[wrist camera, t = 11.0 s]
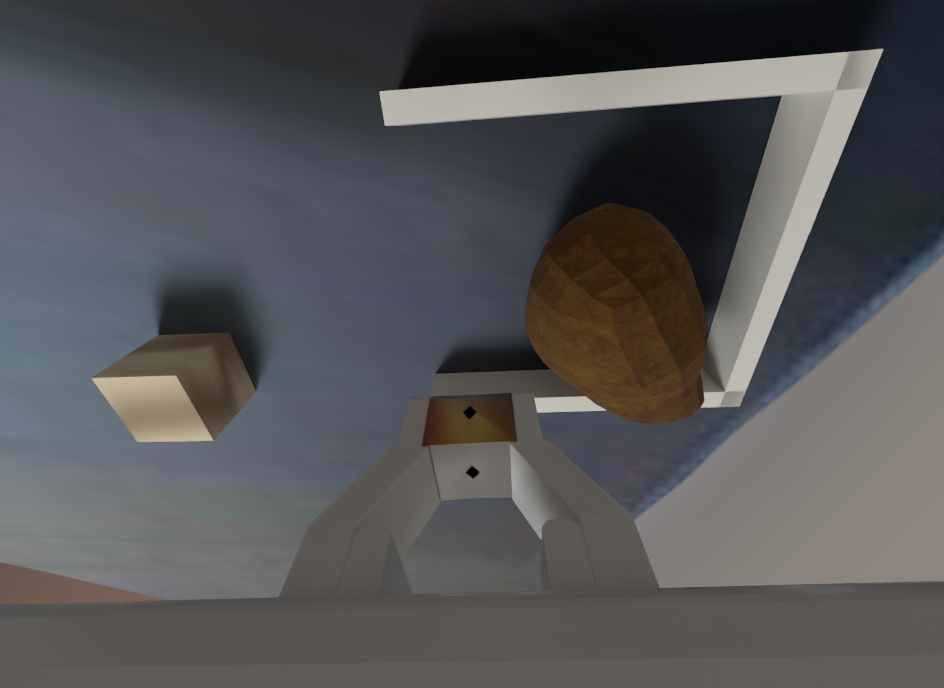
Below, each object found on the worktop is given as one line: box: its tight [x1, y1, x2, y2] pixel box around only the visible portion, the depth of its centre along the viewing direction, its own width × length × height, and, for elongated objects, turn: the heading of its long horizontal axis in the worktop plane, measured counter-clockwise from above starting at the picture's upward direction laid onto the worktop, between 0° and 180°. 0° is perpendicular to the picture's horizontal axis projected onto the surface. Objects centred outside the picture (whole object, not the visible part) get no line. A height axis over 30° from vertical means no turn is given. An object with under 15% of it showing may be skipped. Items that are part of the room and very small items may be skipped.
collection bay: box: [379, 49, 883, 413], centre depth 20 cm, size 17×19×3 cm
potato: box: [525, 203, 708, 424], centre depth 19 cm, size 8×12×9 cm
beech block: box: [91, 332, 256, 442], centre depth 24 cm, size 5×5×5 cm
